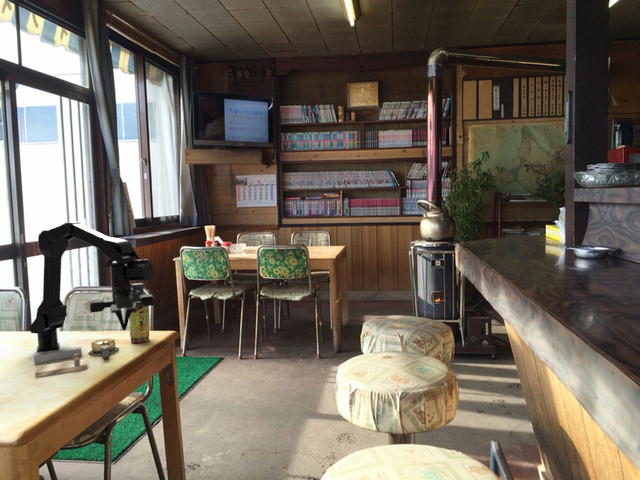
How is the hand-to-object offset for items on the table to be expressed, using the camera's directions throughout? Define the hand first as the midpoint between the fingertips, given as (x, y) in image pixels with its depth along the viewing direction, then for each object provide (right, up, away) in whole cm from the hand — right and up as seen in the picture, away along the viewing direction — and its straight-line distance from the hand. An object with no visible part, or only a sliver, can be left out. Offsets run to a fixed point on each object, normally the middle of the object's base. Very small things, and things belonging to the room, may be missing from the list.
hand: (124, 330), depth 156 cm
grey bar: (-18, -9, -2) cm, 20 cm away
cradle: (-13, -9, -13) cm, 20 cm away
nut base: (-8, -8, +4) cm, 12 cm away
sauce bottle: (0, -7, +15) cm, 16 cm away
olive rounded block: (-7, -7, +1) cm, 10 cm away
